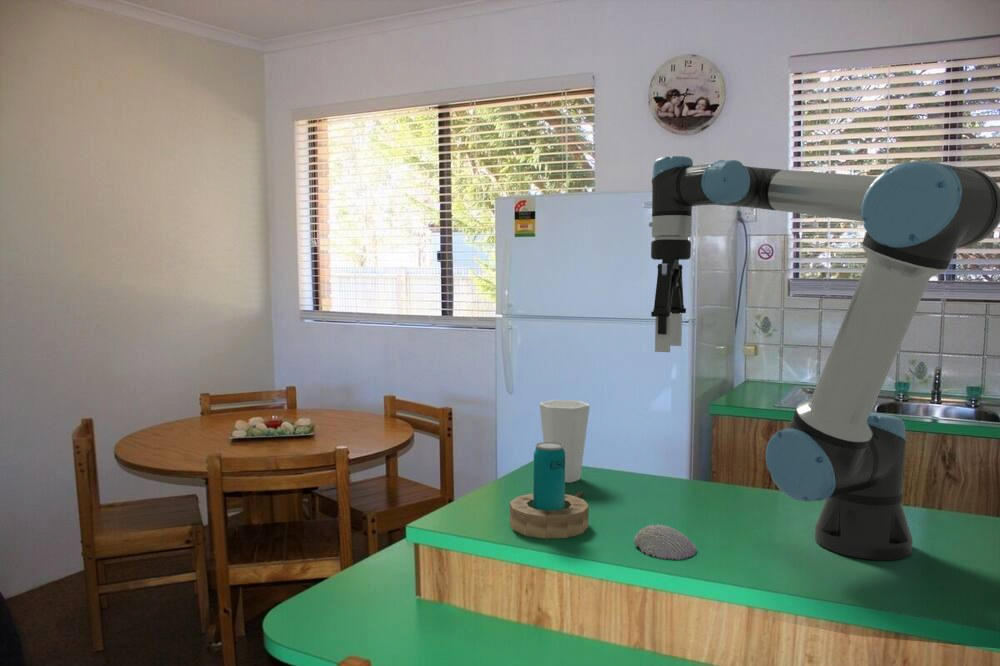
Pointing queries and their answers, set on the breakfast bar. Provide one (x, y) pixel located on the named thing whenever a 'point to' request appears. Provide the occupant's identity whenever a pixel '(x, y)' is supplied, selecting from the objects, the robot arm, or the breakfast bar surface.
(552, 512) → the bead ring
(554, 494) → the beverage can
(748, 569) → the breakfast bar surface
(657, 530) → the seashell
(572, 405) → the cup
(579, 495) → the brown stick
